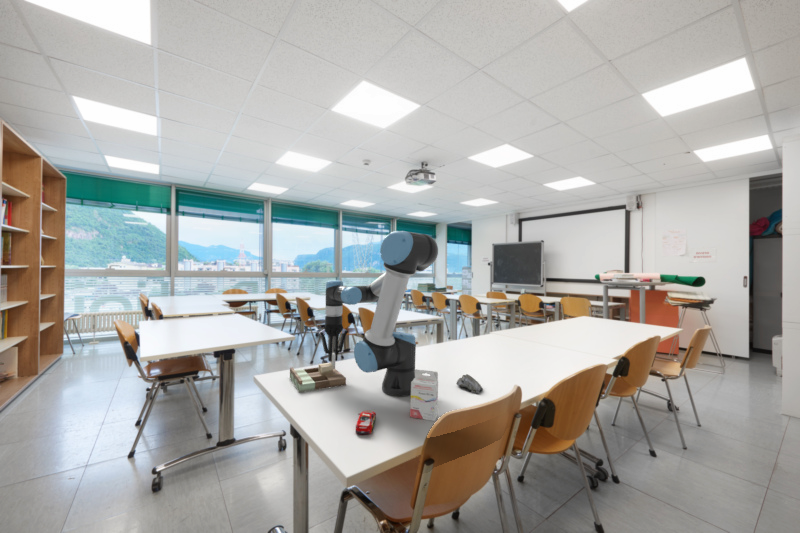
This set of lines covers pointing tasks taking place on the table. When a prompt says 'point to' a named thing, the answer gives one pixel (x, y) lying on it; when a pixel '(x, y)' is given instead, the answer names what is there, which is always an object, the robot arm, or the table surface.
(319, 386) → the multicoloured piece
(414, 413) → the ink cartridge box
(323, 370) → the birch block
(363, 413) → the race car
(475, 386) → the fossilized seashell
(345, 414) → the table surface
